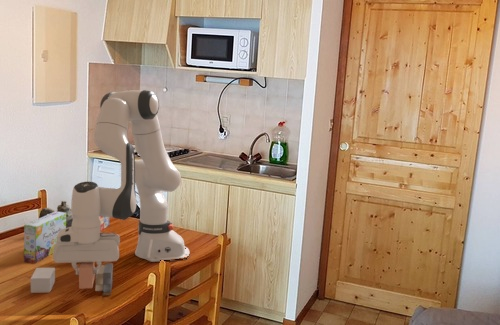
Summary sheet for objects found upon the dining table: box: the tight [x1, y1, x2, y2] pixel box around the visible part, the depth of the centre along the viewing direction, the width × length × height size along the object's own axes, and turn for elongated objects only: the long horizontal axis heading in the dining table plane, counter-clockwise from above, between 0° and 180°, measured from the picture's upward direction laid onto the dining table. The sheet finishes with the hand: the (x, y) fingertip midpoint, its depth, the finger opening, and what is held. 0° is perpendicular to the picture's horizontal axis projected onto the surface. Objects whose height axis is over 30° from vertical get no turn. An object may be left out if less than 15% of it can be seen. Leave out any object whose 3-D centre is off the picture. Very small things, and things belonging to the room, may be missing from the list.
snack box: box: [23, 210, 66, 264], centre depth 206 cm, size 21×6×15 cm, turn 168°
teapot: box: [38, 200, 73, 228], centre depth 232 cm, size 21×12×15 cm, turn 141°
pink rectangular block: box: [78, 262, 96, 290], centre depth 167 cm, size 4×8×7 cm, turn 11°
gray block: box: [30, 267, 56, 294], centre depth 175 cm, size 6×9×5 cm, turn 11°
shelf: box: [94, 262, 114, 296], centre depth 177 cm, size 26×10×8 cm, turn 101°
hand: (87, 273), depth 167 cm, fingers closed on pink rectangular block, 4 cm apart
